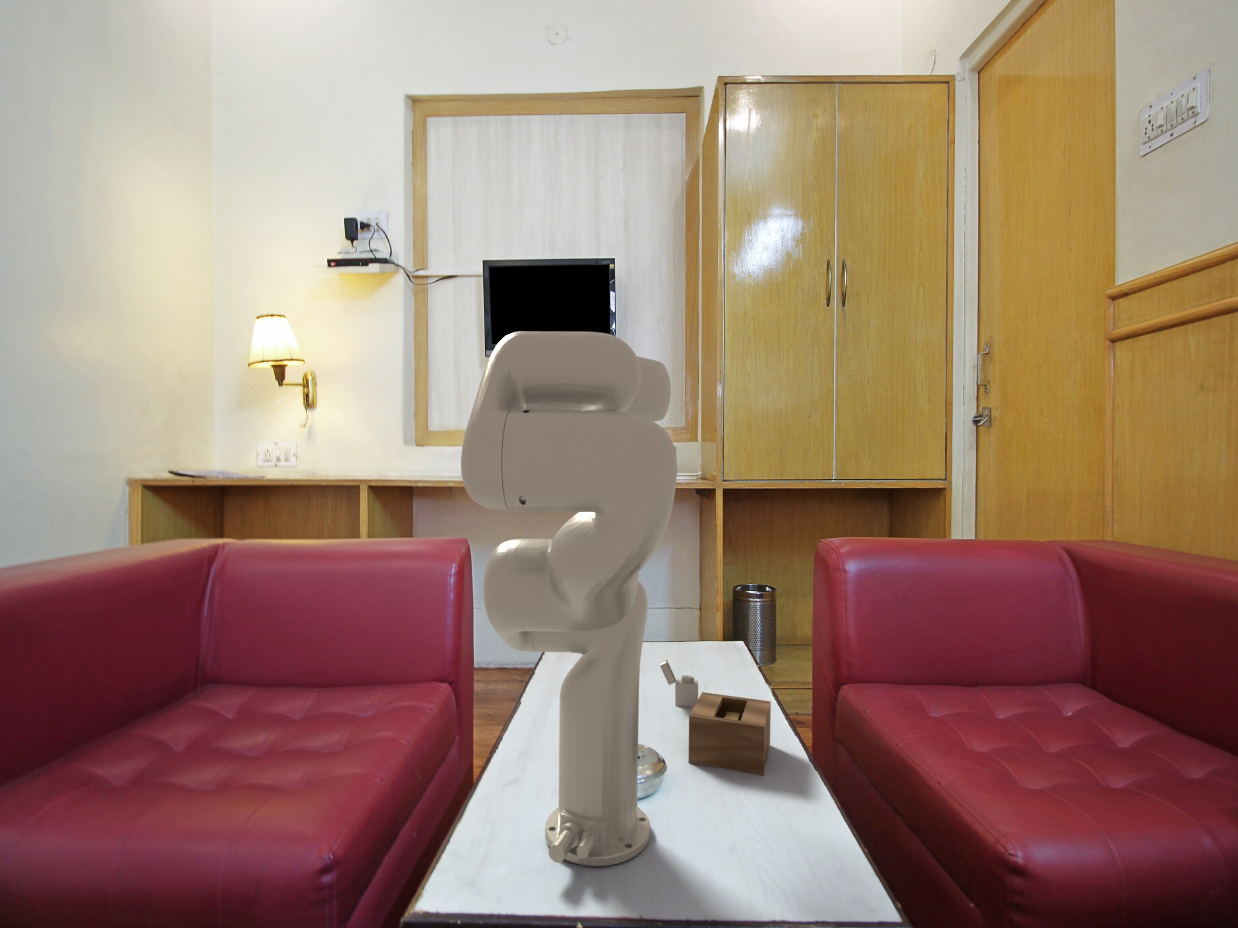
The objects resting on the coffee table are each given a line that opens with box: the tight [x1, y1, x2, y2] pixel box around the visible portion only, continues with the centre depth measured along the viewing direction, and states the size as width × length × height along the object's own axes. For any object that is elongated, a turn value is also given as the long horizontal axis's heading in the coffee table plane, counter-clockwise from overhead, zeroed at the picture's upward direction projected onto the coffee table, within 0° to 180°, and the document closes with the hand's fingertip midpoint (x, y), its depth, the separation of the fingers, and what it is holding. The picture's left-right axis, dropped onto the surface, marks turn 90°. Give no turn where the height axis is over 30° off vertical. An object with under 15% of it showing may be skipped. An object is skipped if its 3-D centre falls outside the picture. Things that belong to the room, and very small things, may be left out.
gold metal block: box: [725, 712, 740, 721], centre depth 95 cm, size 5×2×5 cm, turn 161°
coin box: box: [687, 691, 772, 776], centre depth 95 cm, size 10×11×7 cm
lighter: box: [659, 659, 699, 708], centre depth 114 cm, size 7×2×8 cm, turn 82°
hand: (605, 571), depth 93 cm, fingers open, 9 cm apart
